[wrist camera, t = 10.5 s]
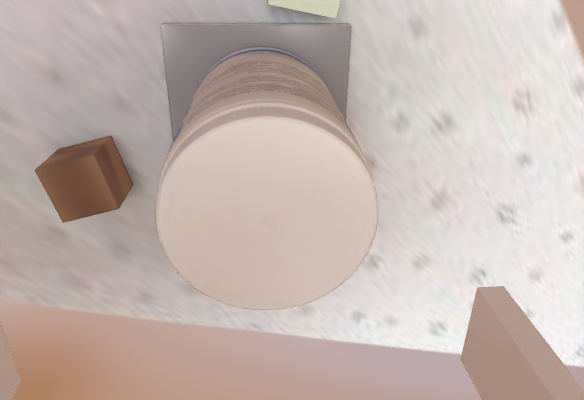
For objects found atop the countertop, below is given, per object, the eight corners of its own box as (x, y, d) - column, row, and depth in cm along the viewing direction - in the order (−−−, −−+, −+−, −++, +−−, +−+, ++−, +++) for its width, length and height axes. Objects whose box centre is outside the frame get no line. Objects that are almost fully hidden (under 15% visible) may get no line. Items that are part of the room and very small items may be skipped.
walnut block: (83, 196, 35) (63, 222, 32) (58, 148, 34) (34, 170, 30) (133, 184, 35) (119, 208, 32) (111, 135, 33) (93, 155, 30)
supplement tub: (169, 75, 31) (100, 159, 17) (306, 21, 30) (342, 67, 16) (228, 199, 35) (209, 341, 22) (350, 155, 34) (406, 276, 21)
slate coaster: (181, 190, 36) (179, 197, 35) (163, 22, 30) (160, 25, 29) (338, 188, 36) (340, 194, 35) (348, 23, 31) (351, 25, 30)
